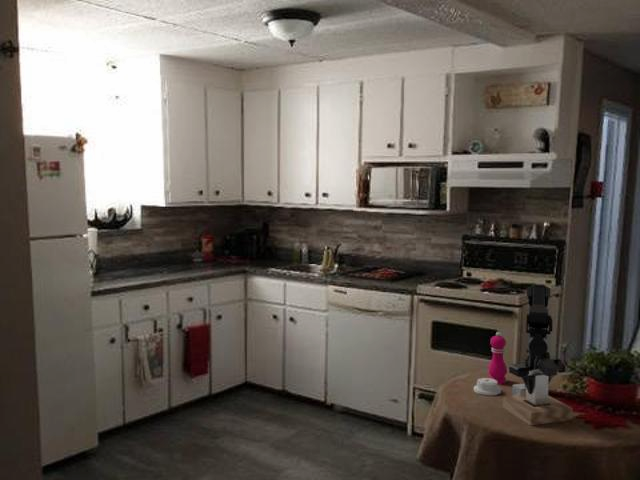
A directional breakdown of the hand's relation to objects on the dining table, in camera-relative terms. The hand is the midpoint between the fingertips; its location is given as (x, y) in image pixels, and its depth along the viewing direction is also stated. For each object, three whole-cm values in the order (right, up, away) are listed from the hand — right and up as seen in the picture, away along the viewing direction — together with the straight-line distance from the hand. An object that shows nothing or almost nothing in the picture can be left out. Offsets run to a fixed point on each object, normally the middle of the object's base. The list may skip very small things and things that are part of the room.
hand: (536, 393), depth 205 cm
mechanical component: (-10, -6, +24) cm, 27 cm away
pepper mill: (-3, -5, +36) cm, 36 cm away
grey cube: (0, -6, +15) cm, 16 cm away
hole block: (0, -7, +1) cm, 7 cm away
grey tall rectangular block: (0, -3, 0) cm, 3 cm away
